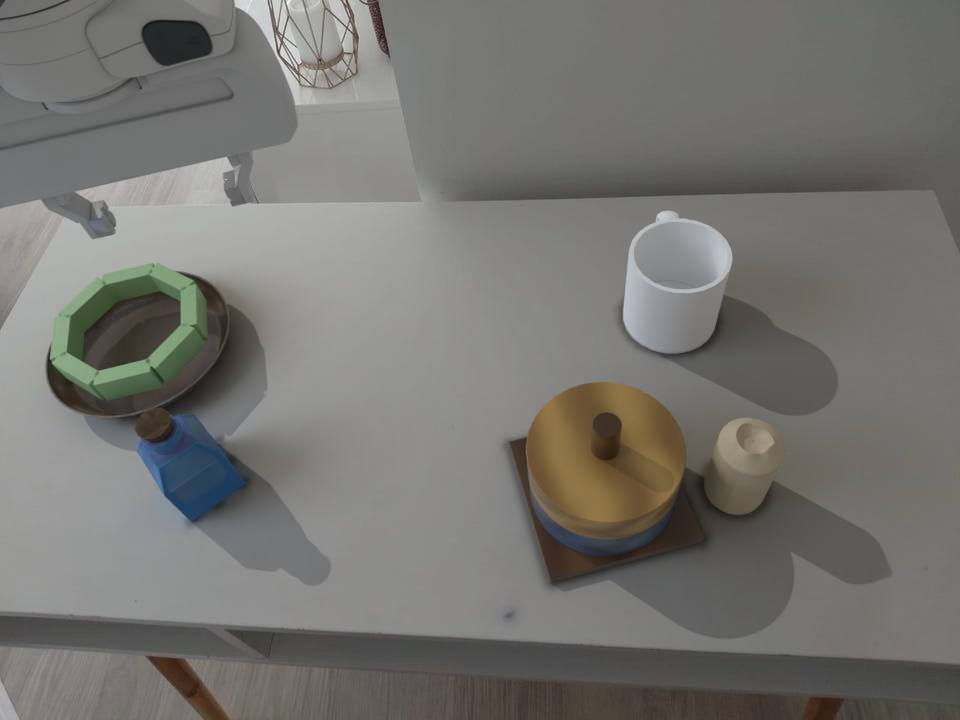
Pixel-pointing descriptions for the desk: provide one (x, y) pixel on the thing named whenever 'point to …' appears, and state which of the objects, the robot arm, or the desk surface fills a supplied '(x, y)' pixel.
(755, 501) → the candle
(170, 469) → the perfume bottle
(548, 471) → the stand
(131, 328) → the plant saucer
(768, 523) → the desk surface
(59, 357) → the ring
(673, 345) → the mug
